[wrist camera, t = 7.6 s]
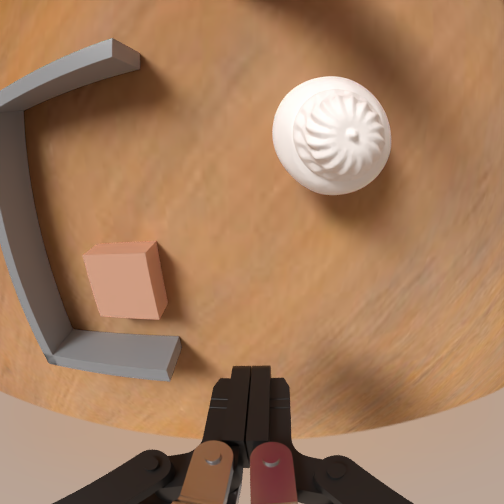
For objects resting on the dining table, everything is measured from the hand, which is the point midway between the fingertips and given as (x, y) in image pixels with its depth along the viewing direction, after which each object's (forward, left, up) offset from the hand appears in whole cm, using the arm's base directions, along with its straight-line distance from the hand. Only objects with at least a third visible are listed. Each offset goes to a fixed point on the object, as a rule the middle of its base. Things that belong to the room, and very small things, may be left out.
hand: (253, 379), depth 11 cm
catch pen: (+13, -5, -10) cm, 17 cm away
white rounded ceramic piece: (-4, -9, -10) cm, 14 cm away
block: (+9, 0, -10) cm, 14 cm away
